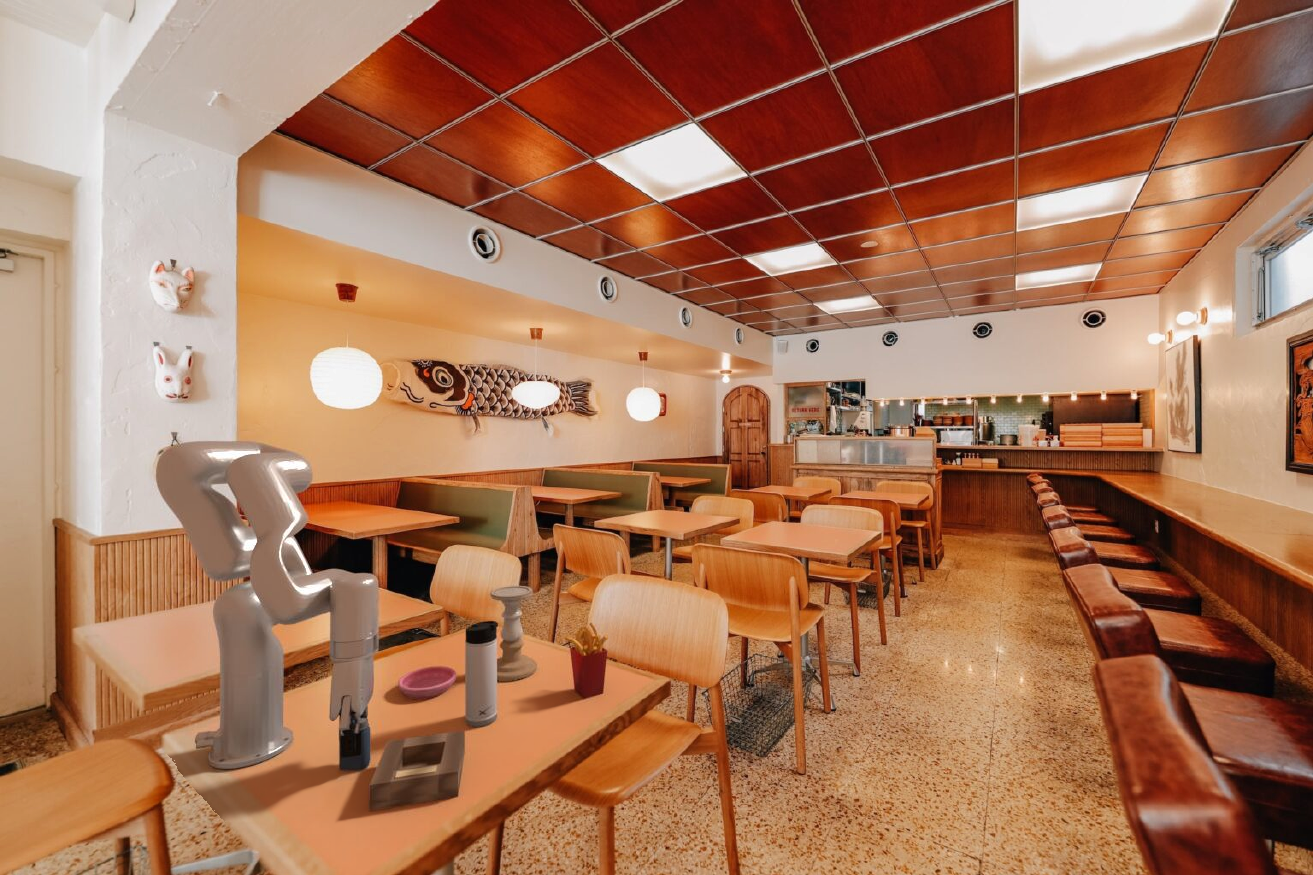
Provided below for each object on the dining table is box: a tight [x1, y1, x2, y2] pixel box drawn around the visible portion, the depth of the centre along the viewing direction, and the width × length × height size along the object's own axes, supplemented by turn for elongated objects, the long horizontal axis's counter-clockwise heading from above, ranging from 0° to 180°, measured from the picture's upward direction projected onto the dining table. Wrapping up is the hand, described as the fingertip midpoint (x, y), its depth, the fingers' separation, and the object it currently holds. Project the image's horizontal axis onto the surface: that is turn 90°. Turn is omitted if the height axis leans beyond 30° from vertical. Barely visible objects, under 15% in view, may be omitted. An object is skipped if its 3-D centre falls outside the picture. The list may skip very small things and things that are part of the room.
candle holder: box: [489, 585, 538, 682], centre depth 135 cm, size 12×12×20 cm
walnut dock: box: [368, 729, 466, 812], centre depth 92 cm, size 13×13×4 cm
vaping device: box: [338, 712, 371, 771], centre depth 95 cm, size 3×5×12 cm, turn 88°
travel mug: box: [464, 620, 499, 728], centre depth 111 cm, size 6×7×20 cm
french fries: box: [565, 622, 609, 700], centre depth 124 cm, size 9×8×15 cm
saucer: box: [397, 665, 457, 700], centre depth 125 cm, size 12×12×3 cm
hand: (354, 748), depth 95 cm, fingers closed on vaping device, 3 cm apart
